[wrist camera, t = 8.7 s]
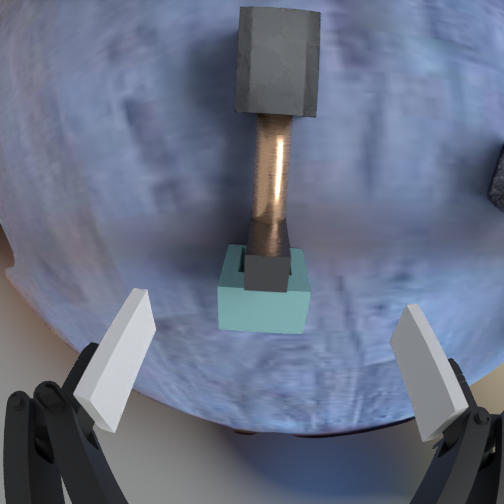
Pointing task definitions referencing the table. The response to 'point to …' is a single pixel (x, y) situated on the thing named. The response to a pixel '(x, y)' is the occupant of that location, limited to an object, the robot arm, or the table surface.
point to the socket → (262, 297)
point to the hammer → (269, 207)
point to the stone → (498, 185)
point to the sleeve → (278, 61)
